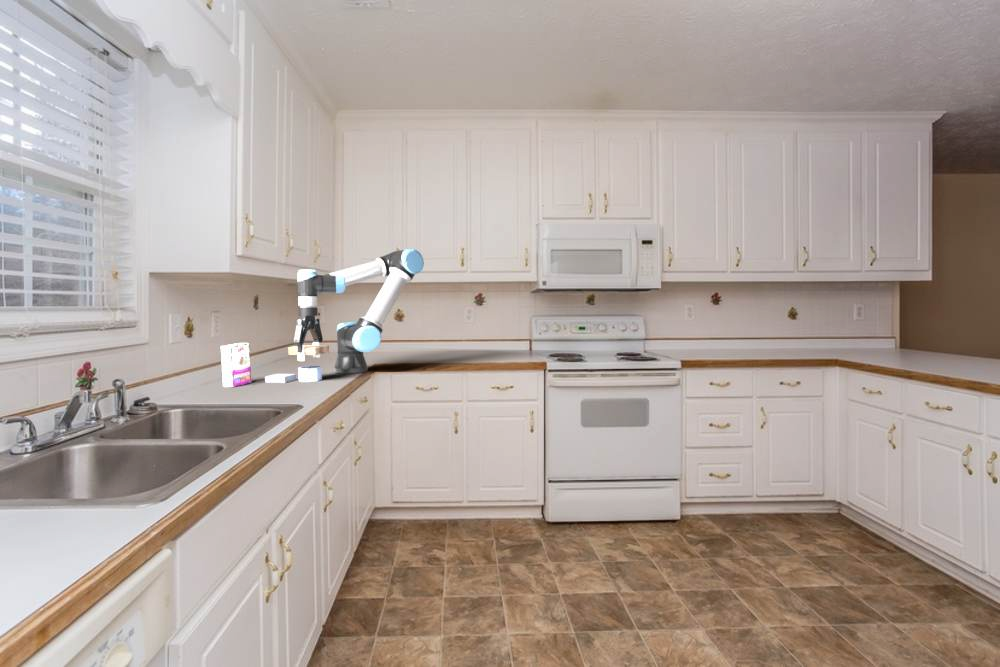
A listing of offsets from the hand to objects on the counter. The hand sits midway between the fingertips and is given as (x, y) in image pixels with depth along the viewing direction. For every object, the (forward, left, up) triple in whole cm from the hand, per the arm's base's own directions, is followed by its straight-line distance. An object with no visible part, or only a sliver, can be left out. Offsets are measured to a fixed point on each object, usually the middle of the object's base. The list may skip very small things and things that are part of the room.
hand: (309, 359), depth 211 cm
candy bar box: (+15, -23, -9) cm, 29 cm away
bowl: (0, 0, -9) cm, 9 cm away
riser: (+4, -11, -9) cm, 15 cm away
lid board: (0, 0, +2) cm, 2 cm away
